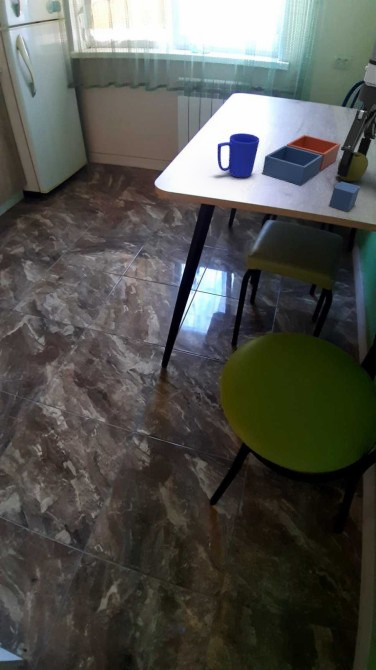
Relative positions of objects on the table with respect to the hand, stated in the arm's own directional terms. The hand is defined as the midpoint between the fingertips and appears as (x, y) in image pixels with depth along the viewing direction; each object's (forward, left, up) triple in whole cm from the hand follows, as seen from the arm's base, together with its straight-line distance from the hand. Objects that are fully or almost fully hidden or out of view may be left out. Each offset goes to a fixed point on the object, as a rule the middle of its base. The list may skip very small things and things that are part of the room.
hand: (350, 168), depth 118 cm
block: (-5, +18, -3) cm, 19 cm away
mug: (+27, +20, -3) cm, 33 cm away
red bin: (+15, -6, -3) cm, 16 cm away
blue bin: (+15, +8, -3) cm, 17 cm away
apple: (0, 0, -3) cm, 3 cm away
